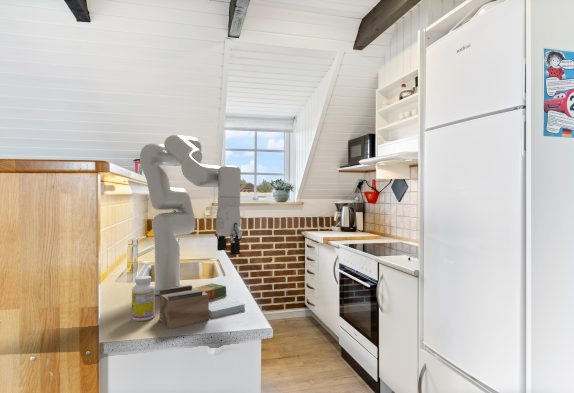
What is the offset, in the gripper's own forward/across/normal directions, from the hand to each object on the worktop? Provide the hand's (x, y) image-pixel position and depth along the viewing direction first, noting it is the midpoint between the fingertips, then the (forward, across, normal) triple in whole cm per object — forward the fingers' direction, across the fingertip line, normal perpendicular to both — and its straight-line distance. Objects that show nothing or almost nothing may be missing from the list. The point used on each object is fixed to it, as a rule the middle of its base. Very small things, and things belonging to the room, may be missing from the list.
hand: (228, 252), depth 121 cm
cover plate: (+20, +2, -2) cm, 20 cm away
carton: (+20, -16, -2) cm, 26 cm away
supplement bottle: (+20, -7, -26) cm, 33 cm away
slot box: (+19, +2, -16) cm, 25 cm away
